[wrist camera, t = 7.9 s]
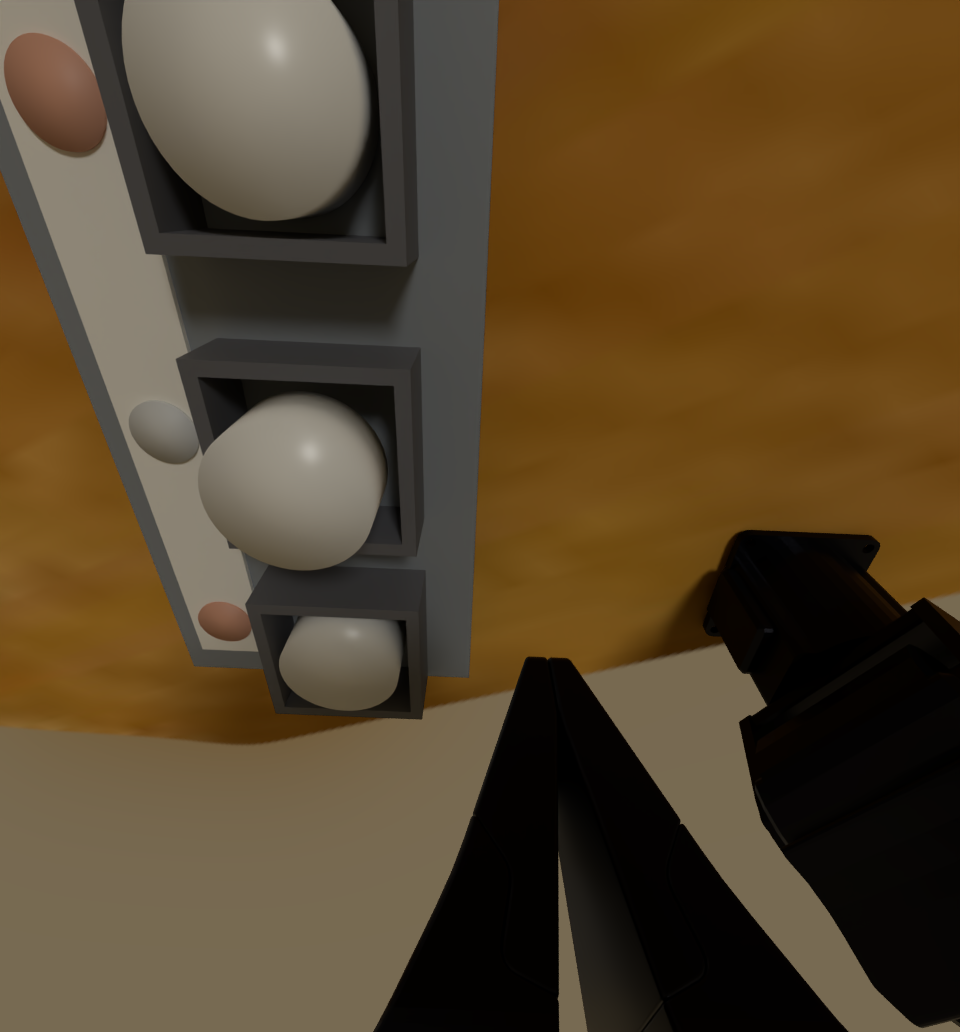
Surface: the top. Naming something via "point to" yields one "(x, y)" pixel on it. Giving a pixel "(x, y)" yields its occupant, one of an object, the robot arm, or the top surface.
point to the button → (255, 100)
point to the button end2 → (343, 660)
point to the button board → (274, 320)
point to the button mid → (295, 481)
